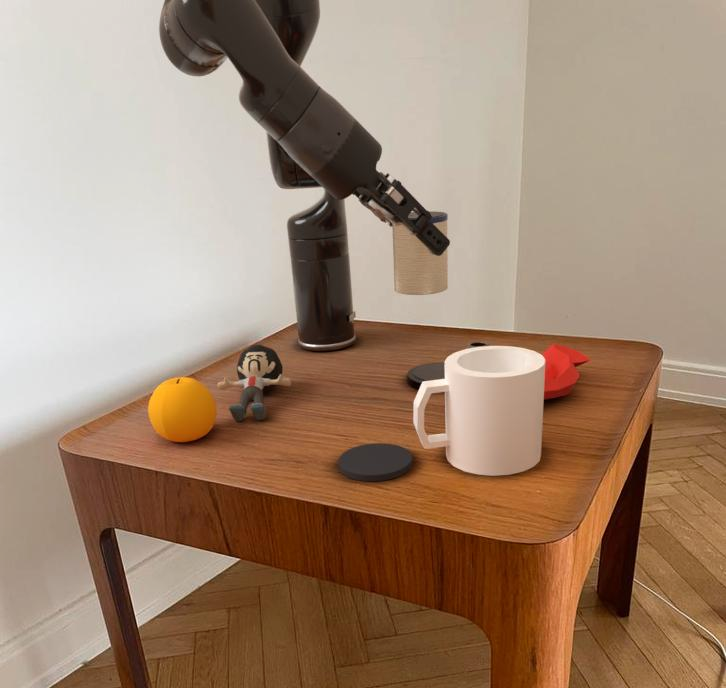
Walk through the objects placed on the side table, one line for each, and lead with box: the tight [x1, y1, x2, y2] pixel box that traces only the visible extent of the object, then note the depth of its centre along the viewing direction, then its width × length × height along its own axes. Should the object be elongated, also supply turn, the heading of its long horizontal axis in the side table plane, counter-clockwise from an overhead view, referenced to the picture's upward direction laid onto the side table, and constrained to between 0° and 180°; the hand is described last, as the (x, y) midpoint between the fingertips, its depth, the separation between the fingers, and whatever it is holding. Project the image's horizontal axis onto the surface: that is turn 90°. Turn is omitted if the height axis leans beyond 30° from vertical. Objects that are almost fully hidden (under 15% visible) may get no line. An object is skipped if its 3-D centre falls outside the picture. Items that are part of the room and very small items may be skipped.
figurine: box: [217, 344, 292, 422], centre depth 100 cm, size 10×7×15 cm
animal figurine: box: [541, 343, 591, 400], centre depth 97 cm, size 12×15×5 cm
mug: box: [412, 345, 545, 477], centre depth 79 cm, size 14×10×11 cm
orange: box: [147, 376, 218, 443], centre depth 90 cm, size 8×8×8 cm
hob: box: [406, 361, 445, 391], centre depth 103 cm, size 9×9×1 cm
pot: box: [391, 210, 449, 296], centre depth 89 cm, size 6×6×9 cm
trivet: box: [337, 442, 413, 482], centre depth 81 cm, size 8×8×1 cm
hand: (432, 244), depth 89 cm, fingers closed on pot, 6 cm apart
